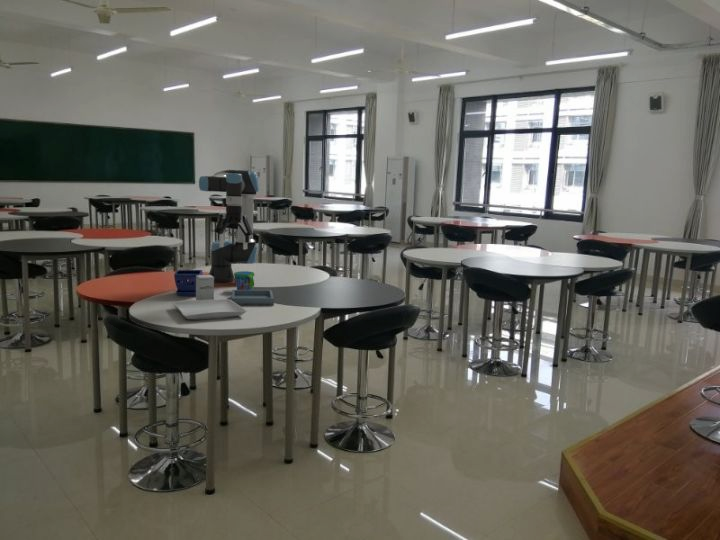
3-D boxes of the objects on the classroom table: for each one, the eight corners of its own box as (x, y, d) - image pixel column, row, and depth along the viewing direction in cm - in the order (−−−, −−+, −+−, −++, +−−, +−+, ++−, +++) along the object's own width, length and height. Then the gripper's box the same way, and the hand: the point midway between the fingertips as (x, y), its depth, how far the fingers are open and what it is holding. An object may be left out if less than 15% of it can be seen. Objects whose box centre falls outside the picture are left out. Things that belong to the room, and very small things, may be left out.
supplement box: (198, 303, 265) (198, 277, 263) (195, 300, 271) (195, 274, 269) (214, 302, 268) (214, 277, 266) (210, 299, 274) (210, 274, 272)
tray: (232, 296, 283) (232, 289, 282) (271, 296, 287) (271, 290, 287) (231, 305, 264) (231, 298, 263) (273, 305, 268) (273, 298, 267)
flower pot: (173, 297, 275) (173, 273, 273) (176, 291, 288) (176, 269, 286) (200, 297, 278) (200, 274, 276) (203, 291, 291) (203, 269, 289)
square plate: (247, 318, 242) (247, 310, 242) (183, 323, 229) (183, 314, 228) (229, 305, 265) (229, 297, 265) (170, 309, 252) (170, 301, 251)
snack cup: (228, 289, 300) (228, 271, 299) (245, 287, 307) (246, 269, 305) (241, 294, 288) (242, 275, 287) (259, 292, 295) (260, 274, 293)
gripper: (207, 203, 270) (207, 246, 273) (252, 206, 262) (251, 250, 265) (216, 203, 277) (216, 245, 280) (260, 206, 269) (259, 249, 272)
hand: (233, 248), depth 272 cm, fingers open, 13 cm apart
